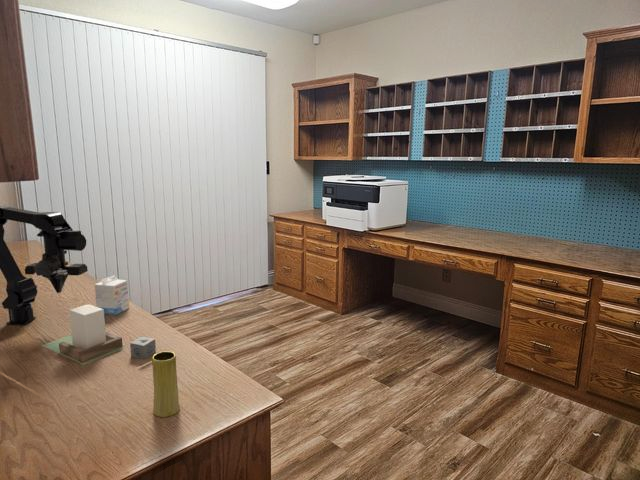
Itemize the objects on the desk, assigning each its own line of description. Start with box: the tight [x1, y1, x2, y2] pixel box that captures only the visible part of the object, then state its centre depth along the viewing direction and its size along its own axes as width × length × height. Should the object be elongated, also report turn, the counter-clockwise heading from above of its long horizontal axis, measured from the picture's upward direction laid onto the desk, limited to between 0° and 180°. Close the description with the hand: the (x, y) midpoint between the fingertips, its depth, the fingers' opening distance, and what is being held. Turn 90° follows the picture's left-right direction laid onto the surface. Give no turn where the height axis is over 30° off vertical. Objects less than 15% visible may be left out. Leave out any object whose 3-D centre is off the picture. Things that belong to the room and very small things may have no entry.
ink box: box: [94, 275, 130, 316], centre depth 166 cm, size 9×8×13 cm
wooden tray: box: [59, 331, 124, 363], centre depth 134 cm, size 12×13×3 cm
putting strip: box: [40, 334, 127, 366], centre depth 136 cm, size 23×14×1 cm, turn 59°
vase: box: [151, 350, 181, 418], centre depth 103 cm, size 6×6×14 cm
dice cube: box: [129, 336, 157, 360], centre depth 131 cm, size 5×5×5 cm
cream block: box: [68, 303, 106, 350], centre depth 133 cm, size 8×6×13 cm
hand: (59, 292), depth 151 cm, fingers closed
